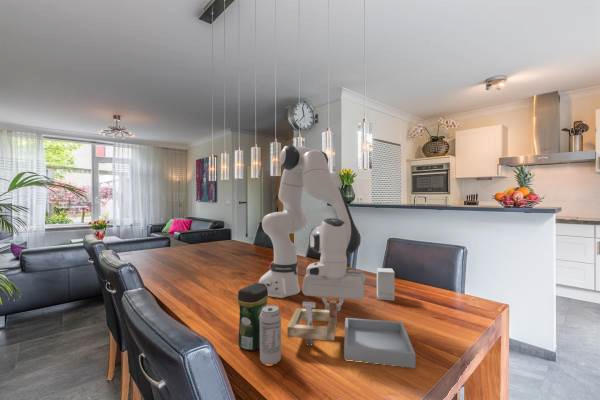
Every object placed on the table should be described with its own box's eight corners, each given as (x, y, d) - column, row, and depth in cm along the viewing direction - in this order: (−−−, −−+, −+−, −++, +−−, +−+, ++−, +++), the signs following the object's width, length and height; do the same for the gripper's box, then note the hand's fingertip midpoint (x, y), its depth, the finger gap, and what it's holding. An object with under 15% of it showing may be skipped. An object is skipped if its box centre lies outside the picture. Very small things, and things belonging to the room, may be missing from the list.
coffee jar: (252, 333, 93) (252, 279, 93) (272, 339, 90) (272, 282, 89) (233, 347, 85) (232, 287, 85) (254, 354, 81) (253, 292, 81)
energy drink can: (281, 354, 81) (281, 304, 81) (280, 367, 75) (280, 312, 75) (261, 355, 81) (260, 304, 81) (258, 367, 75) (258, 313, 75)
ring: (287, 336, 83) (287, 313, 83) (296, 316, 97) (296, 296, 97) (334, 340, 81) (333, 317, 81) (336, 319, 94) (336, 299, 94)
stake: (302, 345, 86) (302, 303, 86) (303, 342, 88) (303, 301, 88) (315, 346, 85) (315, 304, 85) (315, 343, 87) (315, 301, 87)
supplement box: (394, 301, 122) (395, 272, 122) (377, 299, 123) (377, 271, 123) (392, 295, 129) (392, 268, 129) (376, 294, 131) (376, 267, 130)
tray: (344, 361, 78) (344, 347, 78) (345, 329, 96) (345, 317, 96) (415, 368, 74) (415, 353, 74) (402, 333, 93) (402, 322, 93)
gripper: (365, 267, 92) (364, 308, 92) (304, 264, 96) (304, 303, 96) (366, 273, 86) (365, 316, 86) (301, 269, 90) (301, 311, 90)
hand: (332, 309), depth 91 cm, fingers closed on ring
